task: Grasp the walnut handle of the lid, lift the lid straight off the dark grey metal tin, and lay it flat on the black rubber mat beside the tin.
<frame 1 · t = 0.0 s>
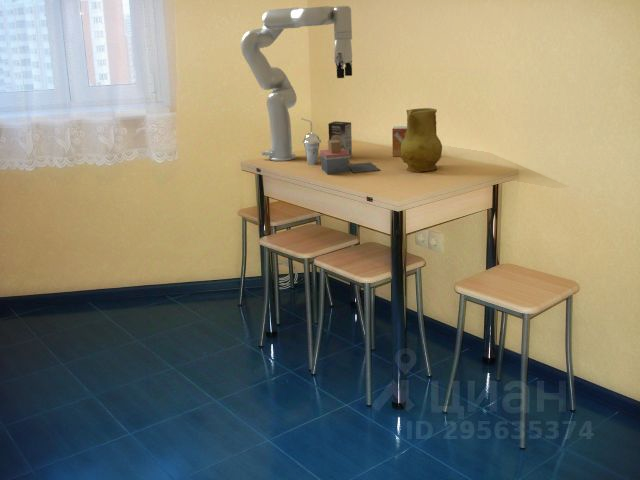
hand: (344, 76, 319), 37 cm above the table, tool pointing down, fingers open, 9 cm apart
mat: (362, 168, 315), on the table
cup with straw: (312, 163, 329), on the table
tin: (335, 170, 312), on the table
coffee box: (340, 157, 339), on the table
lid: (334, 154, 310), point 7 cm above the table, touching tin
small box: (401, 155, 337), on the table
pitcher: (422, 169, 308), on the table
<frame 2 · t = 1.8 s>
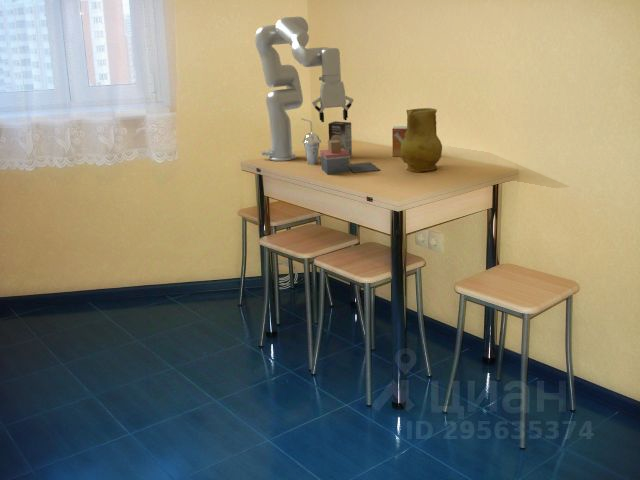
hand: (333, 120, 306), 21 cm above the table, tool pointing down, fingers open, 9 cm apart
nothing on the table moved.
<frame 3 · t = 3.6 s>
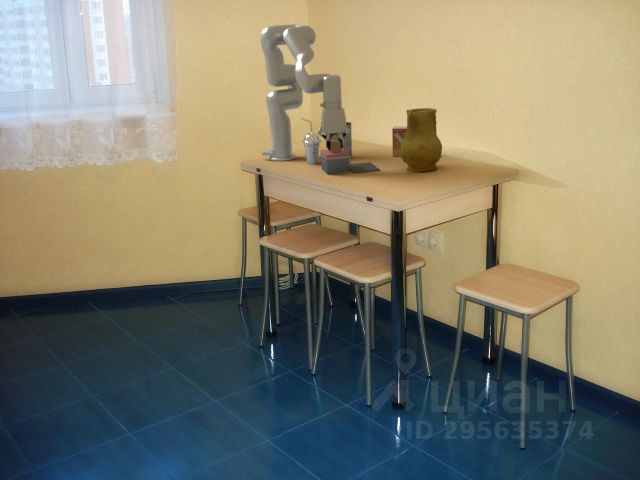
hand: (334, 148, 309), 10 cm above the table, tool pointing down, fingers closed on lid, 4 cm apart
lid: (334, 154, 310), point 7 cm above the table, touching gripper, tin
everything else where it was.
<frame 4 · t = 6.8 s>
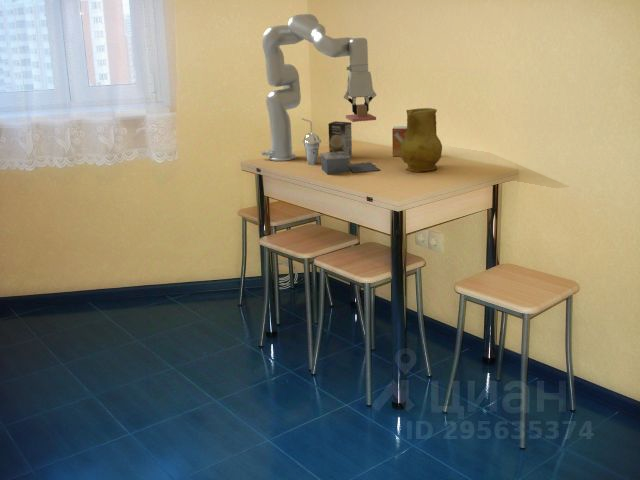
hand: (360, 113, 307), 24 cm above the table, tool pointing down, fingers closed on lid, 4 cm apart
lid: (360, 119, 308), point 21 cm above the table, touching gripper
everything else where it was.
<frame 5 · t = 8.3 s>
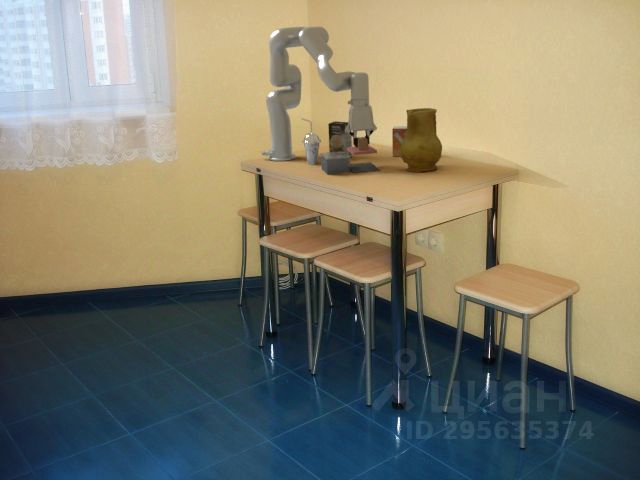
hand: (361, 145, 312), 10 cm above the table, tool pointing down, fingers closed on lid, 4 cm apart
lid: (361, 151, 312), point 7 cm above the table, touching gripper
everything else where it was.
when the fingers open (4 cm above the table, at t = 9.8 s): lid stays where it is, resting on mat.
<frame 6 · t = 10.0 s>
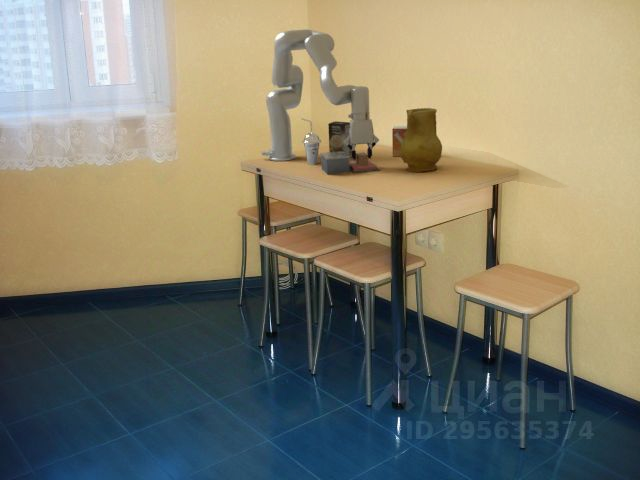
hand: (361, 158, 313), 4 cm above the table, tool pointing down, fingers open, 6 cm apart
lid: (361, 167, 314), resting on mat
everything else where it was.
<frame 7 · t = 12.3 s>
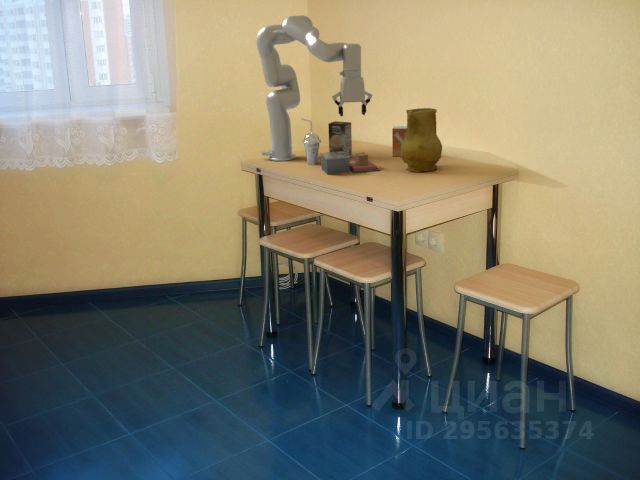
hand: (352, 115, 312), 22 cm above the table, tool pointing down, fingers open, 9 cm apart
nothing on the table moved.
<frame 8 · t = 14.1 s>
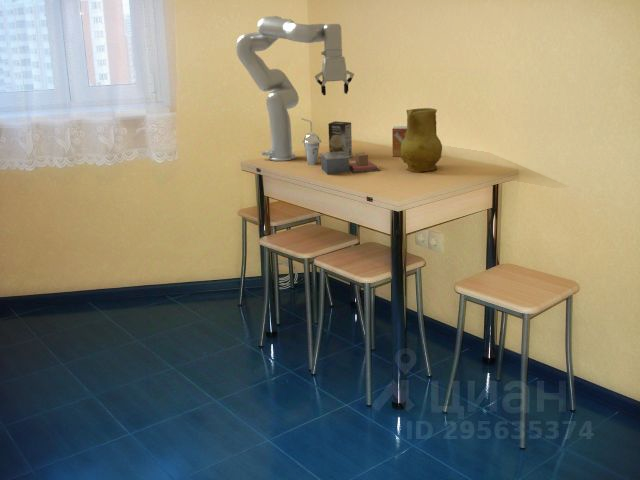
hand: (335, 94, 319), 30 cm above the table, tool pointing down, fingers open, 9 cm apart
nothing on the table moved.
at the end: lid 0.1 cm off-centre on the mat, point 0.5 cm above the mat's base; lid tilted 0°; the gripper is holding nothing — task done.
